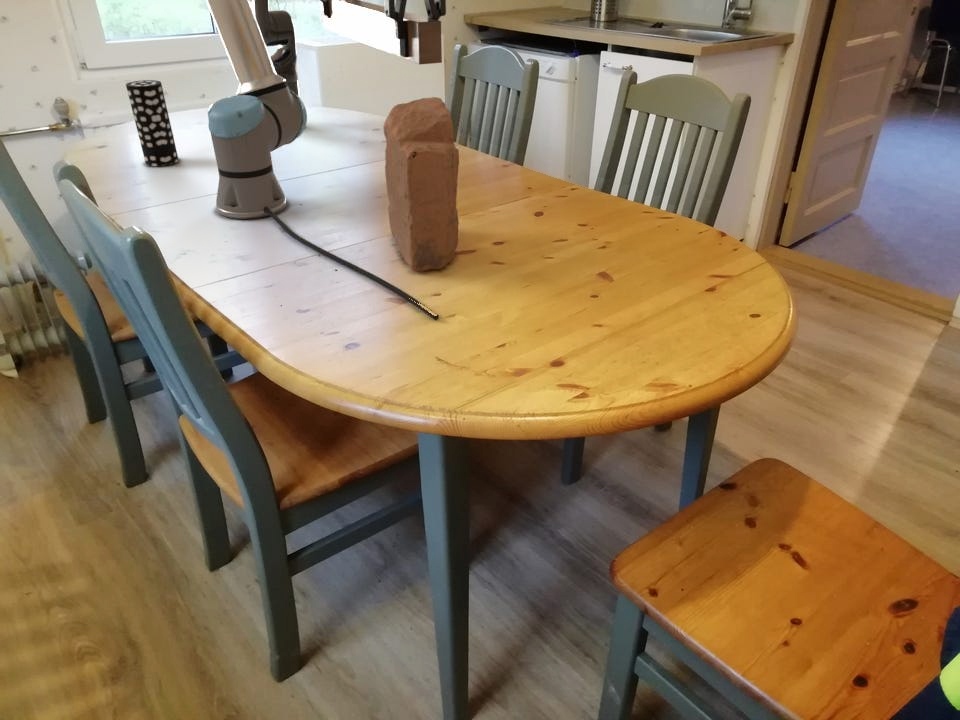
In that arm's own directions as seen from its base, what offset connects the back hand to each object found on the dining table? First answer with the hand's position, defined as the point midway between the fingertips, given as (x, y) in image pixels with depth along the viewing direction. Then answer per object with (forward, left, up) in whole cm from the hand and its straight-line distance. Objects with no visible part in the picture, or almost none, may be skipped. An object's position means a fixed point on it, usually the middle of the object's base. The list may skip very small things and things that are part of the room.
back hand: (337, 17), depth 178 cm
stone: (+69, -25, -35) cm, 81 cm away
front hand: (+48, -11, -2) cm, 50 cm away
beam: (+24, -5, -3) cm, 25 cm away
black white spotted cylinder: (-23, -45, -24) cm, 56 cm away
